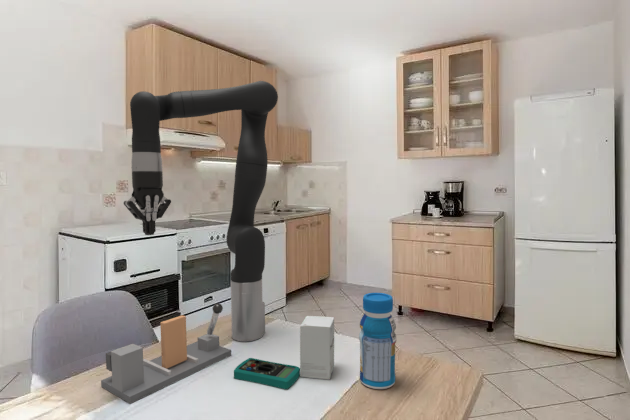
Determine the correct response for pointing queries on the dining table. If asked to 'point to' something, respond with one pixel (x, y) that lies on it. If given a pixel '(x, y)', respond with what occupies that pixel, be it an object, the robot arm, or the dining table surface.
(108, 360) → the push button
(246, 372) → the digital multimeter
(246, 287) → the robot arm
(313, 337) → the supplement box
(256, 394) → the dining table surface
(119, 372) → the console
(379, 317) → the beverage bottle
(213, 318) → the toggle lever
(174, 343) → the tan upright board
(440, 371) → the dining table surface
